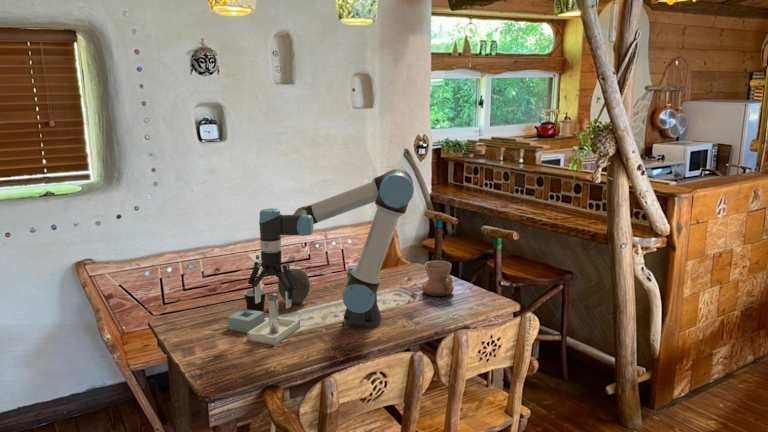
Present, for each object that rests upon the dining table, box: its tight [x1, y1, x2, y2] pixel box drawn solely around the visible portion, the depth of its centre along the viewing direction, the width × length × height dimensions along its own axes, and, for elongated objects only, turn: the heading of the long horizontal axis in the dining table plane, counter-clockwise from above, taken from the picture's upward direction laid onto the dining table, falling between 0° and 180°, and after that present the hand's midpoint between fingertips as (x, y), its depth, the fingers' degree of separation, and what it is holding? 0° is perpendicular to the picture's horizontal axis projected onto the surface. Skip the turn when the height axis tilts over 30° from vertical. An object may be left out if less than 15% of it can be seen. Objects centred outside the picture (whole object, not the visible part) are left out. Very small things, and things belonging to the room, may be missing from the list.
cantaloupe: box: [277, 268, 311, 305], centre depth 259 cm, size 14×14×15 cm
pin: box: [267, 292, 280, 334], centre depth 224 cm, size 4×4×15 cm
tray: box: [246, 316, 301, 346], centre depth 226 cm, size 12×18×3 cm, turn 157°
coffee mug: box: [243, 288, 267, 313], centre depth 245 cm, size 12×9×10 cm
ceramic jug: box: [421, 260, 455, 297], centre depth 269 cm, size 18×14×14 cm
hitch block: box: [227, 308, 266, 333], centre depth 233 cm, size 10×10×5 cm
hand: (273, 304), depth 224 cm, fingers open, 13 cm apart
